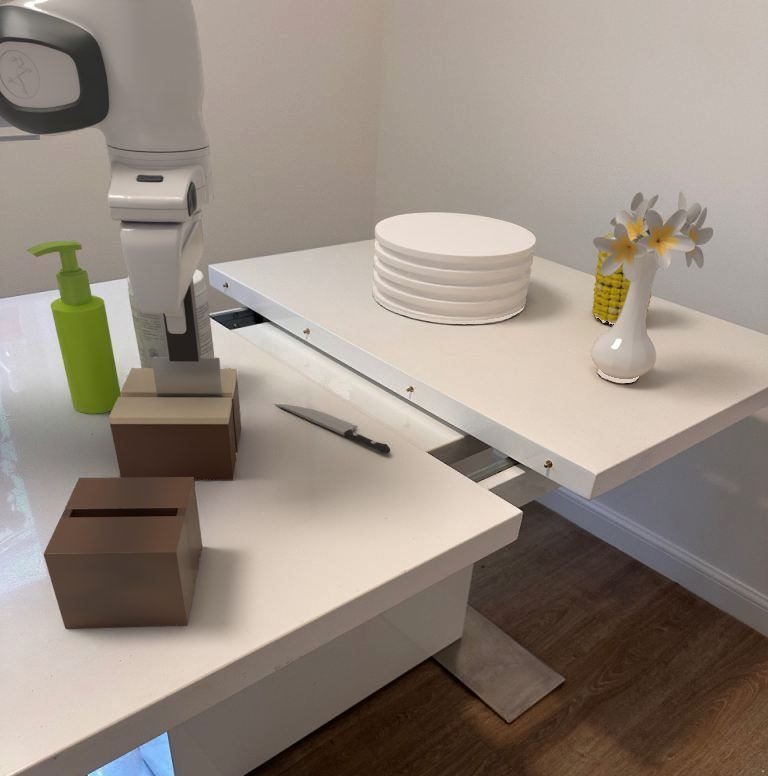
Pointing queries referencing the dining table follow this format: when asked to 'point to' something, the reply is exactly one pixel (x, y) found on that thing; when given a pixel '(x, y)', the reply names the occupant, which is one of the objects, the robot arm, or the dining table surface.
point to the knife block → (126, 552)
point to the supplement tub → (153, 326)
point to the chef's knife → (334, 425)
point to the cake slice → (174, 437)
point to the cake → (144, 386)
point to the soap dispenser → (82, 334)
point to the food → (610, 291)
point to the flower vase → (643, 276)
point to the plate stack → (452, 265)
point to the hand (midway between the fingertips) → (180, 324)
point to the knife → (187, 362)
